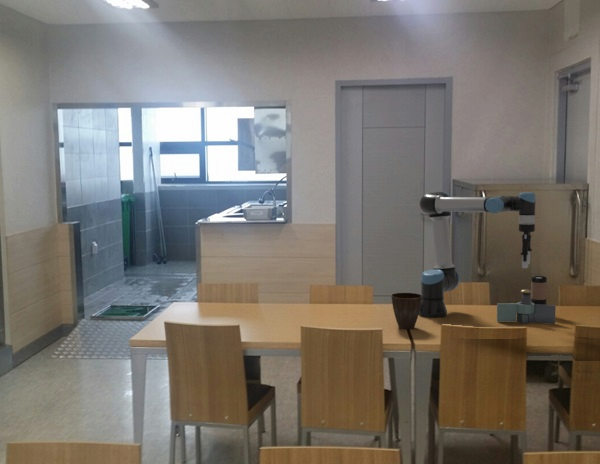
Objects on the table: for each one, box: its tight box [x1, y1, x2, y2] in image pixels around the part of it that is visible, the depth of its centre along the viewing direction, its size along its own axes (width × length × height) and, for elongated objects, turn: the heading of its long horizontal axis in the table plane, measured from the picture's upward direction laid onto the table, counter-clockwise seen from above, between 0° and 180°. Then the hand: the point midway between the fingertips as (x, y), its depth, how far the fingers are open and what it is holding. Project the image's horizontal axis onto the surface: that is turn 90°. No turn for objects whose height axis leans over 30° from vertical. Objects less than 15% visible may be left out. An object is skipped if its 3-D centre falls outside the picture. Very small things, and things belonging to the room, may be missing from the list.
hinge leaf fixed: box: [516, 304, 557, 325], centre depth 337 cm, size 18×8×9 cm, turn 67°
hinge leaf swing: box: [496, 301, 535, 323], centre depth 339 cm, size 18×8×9 cm, turn 87°
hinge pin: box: [520, 288, 532, 305], centre depth 339 cm, size 5×5×16 cm
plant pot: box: [390, 292, 422, 330], centre depth 331 cm, size 15×15×16 cm
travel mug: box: [530, 275, 548, 305], centre depth 354 cm, size 8×8×20 cm
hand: (526, 266), depth 337 cm, fingers open, 13 cm apart
